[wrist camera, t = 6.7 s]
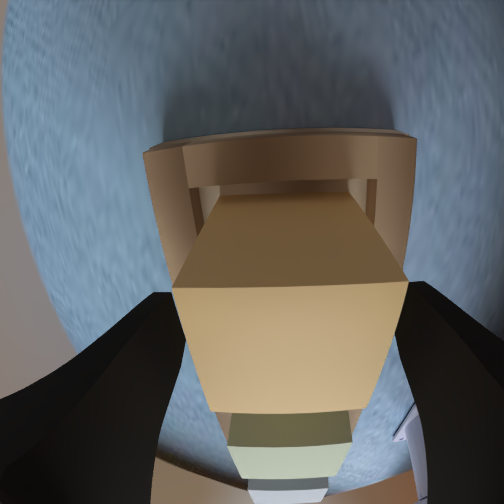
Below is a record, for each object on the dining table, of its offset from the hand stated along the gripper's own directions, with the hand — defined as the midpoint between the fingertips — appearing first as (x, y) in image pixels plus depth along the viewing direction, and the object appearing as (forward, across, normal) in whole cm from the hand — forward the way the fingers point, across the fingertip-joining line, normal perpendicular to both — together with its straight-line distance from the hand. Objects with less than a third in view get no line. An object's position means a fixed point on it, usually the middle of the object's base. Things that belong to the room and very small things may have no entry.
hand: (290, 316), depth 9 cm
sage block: (+4, 0, +8) cm, 9 cm away
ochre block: (+4, 0, 0) cm, 4 cm away
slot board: (+6, 0, +8) cm, 10 cm away
